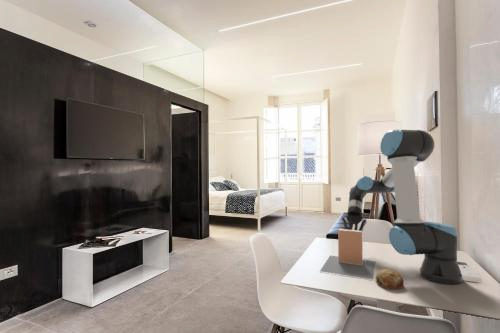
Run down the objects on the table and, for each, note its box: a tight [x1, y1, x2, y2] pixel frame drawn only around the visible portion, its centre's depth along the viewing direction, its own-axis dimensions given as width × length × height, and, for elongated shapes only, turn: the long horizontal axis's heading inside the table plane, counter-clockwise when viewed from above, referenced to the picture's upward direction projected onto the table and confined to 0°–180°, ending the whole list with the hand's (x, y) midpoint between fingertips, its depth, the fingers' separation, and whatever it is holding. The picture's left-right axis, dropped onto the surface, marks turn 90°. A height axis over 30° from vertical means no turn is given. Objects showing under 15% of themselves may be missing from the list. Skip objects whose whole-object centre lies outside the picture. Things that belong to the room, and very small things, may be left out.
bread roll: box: [375, 268, 405, 291], centre depth 114 cm, size 10×10×8 cm
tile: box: [337, 228, 364, 265], centre depth 139 cm, size 3×11×16 cm, turn 64°
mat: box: [319, 255, 376, 281], centre depth 135 cm, size 26×22×1 cm
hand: (351, 246), depth 145 cm, fingers closed
